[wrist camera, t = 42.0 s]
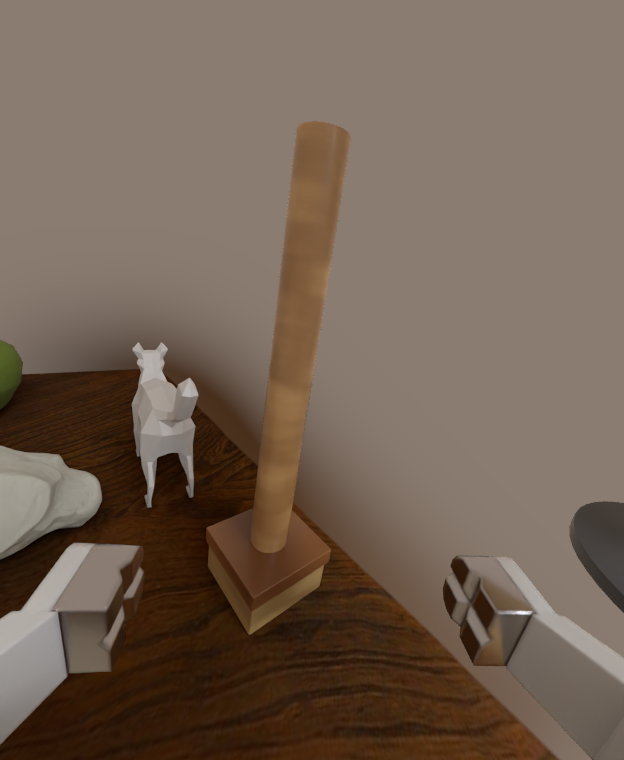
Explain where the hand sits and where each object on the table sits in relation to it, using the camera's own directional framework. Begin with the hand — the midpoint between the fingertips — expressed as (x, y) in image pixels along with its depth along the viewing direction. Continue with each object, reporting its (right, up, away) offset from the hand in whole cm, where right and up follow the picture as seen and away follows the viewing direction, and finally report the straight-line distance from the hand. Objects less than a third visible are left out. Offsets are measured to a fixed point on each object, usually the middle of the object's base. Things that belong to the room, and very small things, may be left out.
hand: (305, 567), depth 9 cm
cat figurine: (-15, -5, +25) cm, 29 cm away
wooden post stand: (-3, -10, +16) cm, 19 cm away
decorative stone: (-23, -7, +17) cm, 29 cm away
